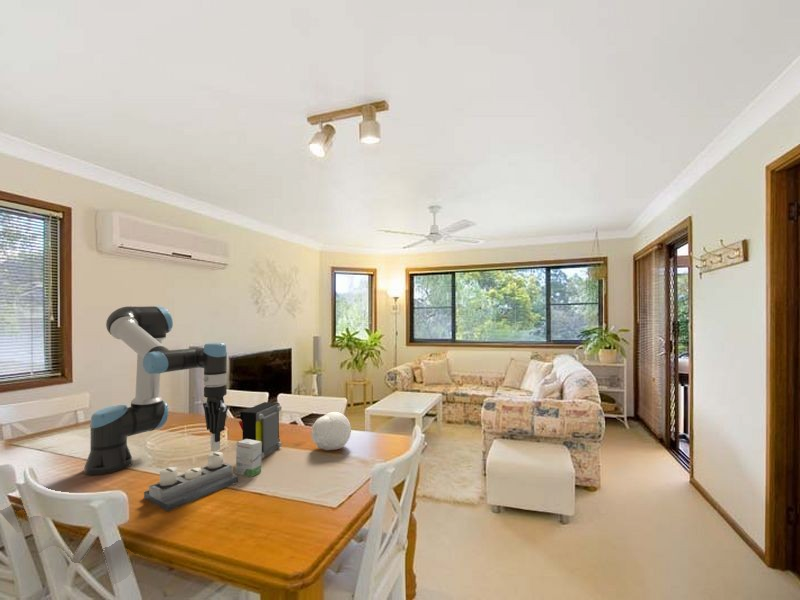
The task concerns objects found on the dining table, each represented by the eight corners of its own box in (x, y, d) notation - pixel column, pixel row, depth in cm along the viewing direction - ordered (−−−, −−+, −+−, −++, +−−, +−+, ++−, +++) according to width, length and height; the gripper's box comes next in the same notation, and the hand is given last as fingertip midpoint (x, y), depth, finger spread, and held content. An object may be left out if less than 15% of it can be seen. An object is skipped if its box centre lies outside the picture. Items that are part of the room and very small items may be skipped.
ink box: (235, 473, 144) (235, 442, 144) (246, 468, 149) (245, 437, 149) (251, 477, 140) (251, 445, 141) (262, 471, 145) (262, 440, 145)
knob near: (156, 483, 124) (156, 470, 124) (172, 477, 128) (173, 465, 128) (164, 487, 121) (164, 473, 121) (180, 481, 125) (180, 468, 125)
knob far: (204, 466, 137) (204, 454, 137) (218, 461, 141) (218, 450, 141) (212, 469, 134) (212, 457, 134) (225, 464, 138) (225, 452, 139)
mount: (143, 498, 125) (143, 482, 126) (214, 472, 145) (214, 458, 146) (167, 511, 116) (167, 495, 117) (238, 481, 137) (238, 467, 137)
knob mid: (182, 483, 130) (182, 470, 130) (196, 477, 134) (196, 465, 135) (189, 486, 128) (189, 474, 128) (204, 481, 132) (204, 468, 132)
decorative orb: (362, 446, 170) (362, 411, 171) (335, 460, 155) (335, 421, 156) (329, 439, 181) (329, 406, 181) (301, 451, 166) (301, 414, 166)
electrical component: (260, 462, 154) (260, 413, 155) (238, 460, 157) (238, 411, 157) (283, 447, 171) (283, 402, 172) (263, 445, 174) (263, 402, 174)
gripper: (195, 385, 139) (195, 450, 138) (215, 388, 132) (215, 457, 131) (215, 382, 146) (215, 444, 145) (235, 385, 138) (235, 450, 137)
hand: (215, 450), depth 138 cm, fingers closed
